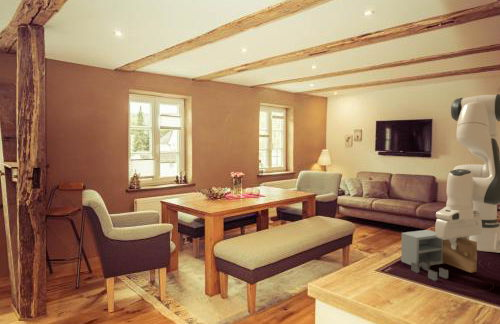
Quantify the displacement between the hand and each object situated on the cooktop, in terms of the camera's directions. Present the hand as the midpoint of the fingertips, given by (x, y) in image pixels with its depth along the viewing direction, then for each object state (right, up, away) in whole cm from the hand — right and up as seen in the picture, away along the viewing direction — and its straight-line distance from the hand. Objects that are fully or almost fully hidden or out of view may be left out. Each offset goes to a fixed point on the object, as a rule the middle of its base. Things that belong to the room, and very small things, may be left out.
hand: (459, 248), depth 131 cm
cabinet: (-9, -8, +10) cm, 16 cm away
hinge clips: (-13, -9, -3) cm, 16 cm away
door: (0, -7, 0) cm, 7 cm away
